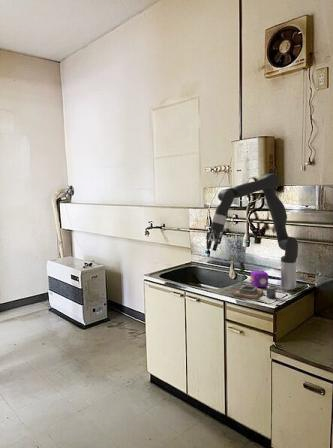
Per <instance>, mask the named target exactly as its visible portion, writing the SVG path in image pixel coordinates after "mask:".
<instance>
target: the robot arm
mask: <svg viewBox="0 0 333 448" xmlns="http://www.w3.org/2000/svg"><path fill="white" fill-rule="evenodd" d="M280 183H281V178H280V176H279V175H278V174H277V173H271V172H270V173H264V174H261V176H260V179H258V180H255V181H250V182H249V181H248V182H245V183H242V184H239V185H236V186H234V187H230V188H225V189H222V190H220V191H219V192H218V195H217V199H218V200H219V201H220V204H218V205H217V206H216V208H215V212H214V214H213V217H212V221H211V224H210V231H208V234H207V238H206V241H207V244H206V249H208V250H210V249H211V248H212V251H213V252H217V249H218V246H219V245H221V243H222V239H223V232H224V231H225V230H224V229H225V226H226V222H227V216H228V214H229V210H230V208H231V206H232V204H233V202H234V200H235V199H239V198H242V197H243V198H244V197H246V196H248V195H252V194H255V193H256V192H260V191H262V193H263V195H264V197H265V200H266V203H267V207H268V209H269V210H268V211H269V213H270V217H271V219H272V223H273V226H274V230H275V234H276V239H277V245H278V247H279V249H281V250H283V251H284V255H282V256H281V257H280V288H281V289H282V290H286V291H287V290H288V291H290V290H291V291H293V289H294V290H296V289H297V259H298V257H299V256H298V253H299V242H298V239H296V237H292V236H290V235H288V231H287V226H286V225H287V222H288V214H287V210H286V207H285V205H284V203H283V201H281V199H280V198H279V196H277V194H276V190H275V189H276V188H277V187H279V185H280ZM212 244H213V246H212ZM211 246H212V247H211ZM295 288H296V289H295Z"/></svg>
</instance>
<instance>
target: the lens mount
mask: <svg viewBox="0 0 333 448" xmlns="http://www.w3.org/2000/svg"><path fill="white" fill-rule="evenodd" d="M263 294H264V290H263V289H258V287H254V286H253V285H247V284H246V285H242V286H241V287H240V288H239V289H238V290H236V291H235V292H234V293H232V296H233V297H237V296H239V297H238V298H246V299H252V300H257V299H258V298H259V297H260V296H262V295H263Z"/></svg>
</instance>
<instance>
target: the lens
mask: <svg viewBox="0 0 333 448" xmlns="http://www.w3.org/2000/svg"><path fill="white" fill-rule="evenodd" d="M276 289H277V286H276V285H274V284H268V285H267V287H266V298H267V299H269V300H275V299H276V297H277V296H276V295H277V290H276Z"/></svg>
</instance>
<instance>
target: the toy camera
mask: <svg viewBox="0 0 333 448" xmlns="http://www.w3.org/2000/svg"><path fill="white" fill-rule="evenodd" d="M250 284H251V286H254V287H257V288H267V285H269V274H268V272H267V271H265V270H263V269H260V270H252V271H251V272H250Z"/></svg>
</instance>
